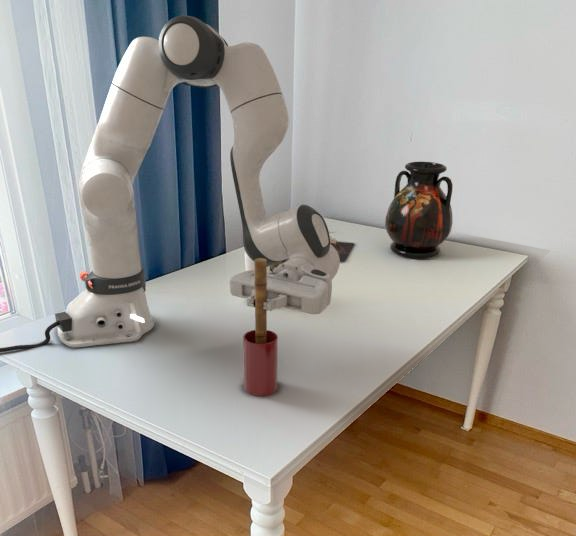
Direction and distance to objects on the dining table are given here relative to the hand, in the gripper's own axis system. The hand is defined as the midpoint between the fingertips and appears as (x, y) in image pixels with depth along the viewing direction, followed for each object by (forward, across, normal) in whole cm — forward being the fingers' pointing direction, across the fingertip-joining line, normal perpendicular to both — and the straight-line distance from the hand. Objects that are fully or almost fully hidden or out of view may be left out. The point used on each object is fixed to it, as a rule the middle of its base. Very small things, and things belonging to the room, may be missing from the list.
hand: (258, 304), depth 113 cm
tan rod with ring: (-1, 0, +12) cm, 13 cm away
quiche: (-88, -30, +19) cm, 95 cm away
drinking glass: (-39, -24, +19) cm, 50 cm away
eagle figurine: (-60, -32, +19) cm, 71 cm away
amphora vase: (-103, -2, +19) cm, 105 cm away
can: (-1, 0, +18) cm, 19 cm away
